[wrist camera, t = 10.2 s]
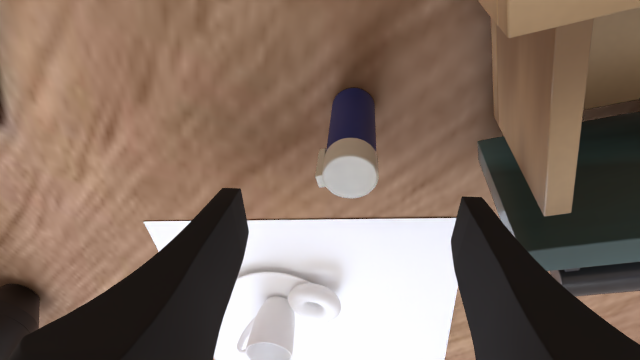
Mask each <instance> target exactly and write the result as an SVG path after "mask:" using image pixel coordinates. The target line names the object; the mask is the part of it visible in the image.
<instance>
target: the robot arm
mask: <svg viewBox="0 0 640 360" xmlns="http://www.w3.org/2000/svg"><path fill="white" fill-rule="evenodd" d="M248 235H249V229H248V224H247V219H246V214H245V209H244V204H243V198H242V193H241V189H236V188H222V189H221V190H220V191H219V192H218V193H217V194H216V195H215V197H214V198H213V199H212V200H211V201H210V202H209V203H208V204H207V205H206V206H205V207H204V208H203V209H202V210H201V212H200V213H199V214H198V215H197V216H196V217H195V218H194V219H193V220H192V221H191V222H190V223H189V224H188V225H187V226H186V227H185V228H184V229H183V230H182V231H181V232H180V233H179V234H178V235H177V236H176V237H175V238H174V239H172V240H171V241H170V242H169V243H168V244H167V245H166V246H165V247H164V248H163V249H162V250H160V251H159V252H158V253H157V254H156V255H155V256H153V257H152V258H151V259H150V260H149V261H147V262H146V263H145V264H144V265H142V266H141V267H140V268H138V269H137V270H136V271H134V272H133V273H132V274H130V275H129V276H127V277H126V278H124V279H123V280H122V281H120V282H119V283H117V284H116V285H114V286H113V287H111V288H110V289H108V290H107V291H105V292H104V293H102V294H101V295H99V296H97V297H96V298H94V299H93V300H91V301H89V302H88V303H86V304H84V305H83V306H81V307H79V308H77V309H76V310H74V311H72V312H70V313H68V314H67V315H65V316H63V317H61V318H59V319H57V320H55V321H53V322H51V323H49V324H47V325H45V326H44V327H42V328H40V329H38V330H36V331H34V332H32V333H30V334H28V335H25V336H24V337H23V338H22V339H21V341H20V342H19V343H18V345H17V346H16V348H15V349H14V350H13V352H12V353H11V354H10V356H9V357H8V359H7V360H213V357H214V352H215V348H216V344H217V339H218V335H219V331H220V327H221V324H222V321H223V317H224V314H225V311H226V309H227V306H228V303H229V300H230V297H231V294H232V291H233V288H234V286H235V283H236V280H237V277H238V274H239V271H240V268H241V265H242V262H243V259H244V254H245V250H246V245H247V240H248ZM451 249H452V257H453V264H454V271H455V275H456V279H457V282H458V286H459V290H460V294H461V298H462V301H463V305H464V309H465V313H466V316H467V320H468V324H469V328H470V331H471V336H472V340H473V345H474V350H475V357H476V360H640V345H639V344H638V343H636V342H635V341H633V340H632V339H630V338H629V337H627V336H626V335H624V334H623V333H622V332H620V331H619V330H617V329H616V328H615V327H613V326H612V325H610V324H609V323H608V322H606V321H605V320H604V319H603V318H601V317H600V316H599V315H597V314H596V313H595V312H593V311H592V310H591V309H590V308H588V307H587V306H586V305H585V304H583V303H582V302H581V301H580V300H578V299H577V298H576V297H575V296H574V295H573V294H571V293H570V292H569V291H568V290H567V289H566V288H565V287H563V286H562V285H561V284H560V283H559V282H558V281H557V280H556V279H555V278H553V277H552V276H551V275H550V274H549V273H548V272H547V271H546V270H545V269H544V268H543V267H542V266H541V265H540V264H539V263H538V262H537V261H536V260H535V259H534V258H533V257H532V256H531V255H530V253H529V252H528V251H527V250H526V249H525V248H524V247H523V246H522V245H521V243H520V242H519V241H518V240H517V239H516V238H515V237H514V236H513V234H512V233H511V232H510V231H509V230H508V229H507V227H506V226H505V225H504V224H503V223H502V221H501V220H500V219H499V218H498V216H497V215H496V214H495V213H494V212H493V210H492V209H491V208H490V207H489V205H488V204H487V203H486V202H485V200H484V199H483V198H482V197H462V199H461V203H460V206H459V210H458V214H457V218H456V222H455V226H454V230H453V234H452V237H451Z"/></svg>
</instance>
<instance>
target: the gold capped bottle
mask: <svg viewBox="0 0 640 360" xmlns="http://www.w3.org/2000/svg"><path fill="white" fill-rule="evenodd" d="M39 307H40V298H39V296H38V295H37V294H36V293H35V292H34V291H32V290H31V289H29V288H27V287H24V286H21V285H18V284H7V285H4V286H2V287H0V360H7V359H8V357H9V356H10V354H11V353H12V352H13V350H14V349H15V348H16V346H17V345H18V343H19V342H20V341H21V339H22V338H23V337H24V336H25V335H28V334H30V333H32V332H34V331H36V330H38V329H39Z"/></svg>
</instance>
